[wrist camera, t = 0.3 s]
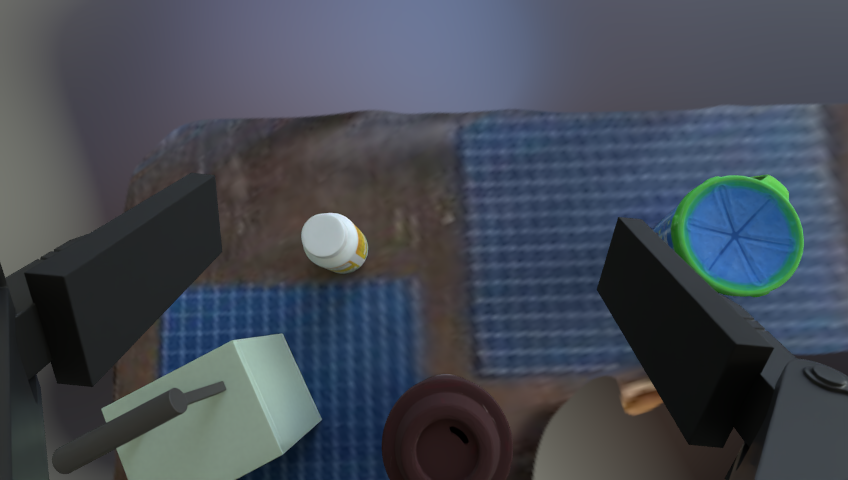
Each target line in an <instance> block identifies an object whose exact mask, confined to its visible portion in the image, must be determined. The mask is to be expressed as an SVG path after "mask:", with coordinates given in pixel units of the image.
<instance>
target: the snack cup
mask: <svg viewBox="0 0 848 480" xmlns="http://www.w3.org/2000/svg"><path fill="white" fill-rule="evenodd" d="M788 200H789V192H788V191H787V189H786V188H785V187H784V186H783V185H782V184H781V183H780V182H779V181H777V180H776V179H775V178H773V177H772V176H770V175H761V176H754V177H745V176H737V175H735V176H725V177H718V176H717V177H714V178H710V179H708V180H706V181H705V182H704V183H703V184H701V185H699V186H698V187H696V188H695V189H693V190H692V191H691V192H689V193H688V194H687V195H686V196H685V197H684V199H683V200H682V201H681V202H680V204H679V205H678V206H677V207H676V208H675V209H674V210H673V211H672V212H671V213H669V214H668V215H667V216H666V217H665V218H664V219H662V220H661V222H659V224H658V225H657V226H656V227H655V228H654V230H653V231H654V232H655V233H656V234H657V235H658V236H659V237H660V238H661V239H662V240H663V241H664V242H666V243H667V244H668V245H669V246H670V247H671V248H672V249H673V250H674V251H675V252H676V253H677V254H678V255H679V256H680V257H681V258H682V259H683V260H684V261H685V262H686V263H687V264H688V265H689V266H690V267H691V268H692V269H693V270H695V271H696V272H697V273H698V274H699V275H700V276H701V277H702V278H703V279H704V280H705V281H706V282H707V283H708V284H709V285H710V286H711V287H712V288H713V289H714V290H715V291H716V292H718V293H721V294H725V295H730V296H752V297H760V296H763V295H766V294H769V292H770V291H772V290H774V289H776V288H778V287H779V286H781V285H782V284H784V283H785V282H786V281H787V280H788V279H789V278H790V277H791V276H792V275H793V273H794V272H795V270H796V269H797V267H798V265H799V263H800V260H801V257H802V253H803V247H804V238H803V230H802V226H801V223H800V220H799V217H798V215H797V213H796V211H795V210H794V208H793V207H792V205H791V204H790V203H789V201H788Z"/></svg>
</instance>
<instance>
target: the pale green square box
mask: <svg viewBox="0 0 848 480" xmlns="http://www.w3.org/2000/svg"><path fill="white" fill-rule="evenodd" d="M101 410H102V413H103V415H104V418H105V420H106V423H105V424H103V425H102V426H100V427H98V428H96V429H94V430H92V431H90V432H88V433H86V434H84V435H82V436H80V437H79V438H77V439H75V440H73V441H71V442H69V443H67V444H65V445H63V446H61V447H59V448H58V449H57V450H56V451H55V452H54V454H53V457H52V463H53V466H54V468H55V469H56V470H57V471H58V472H59V473H62V474H68V473H71V472H72V471H74V470H76V469H78V468H80V467H82V466H84V465H86V464H88V463H90V462H92V461H93V460H95V459H97V458H99V457H101V456H103V455H105V454H107V453H109V452H111V451H112V450H114V449H117V452H118V455H119V457H120V460H121V462H122V465H123V468H124V470H125V473H126V475H127V478H128V480H236V479H238V478H240V477H242V476H244V475H246V474H247V473H249V472H251V471H253V470H255V469H257V468H259V467H261V466H262V465H264V464H266V463H268V462H270V461H272V460H274V459H276V458H277V457H279V456H281V455H283V454H284V453H285V452H286V451H287V450H288V449H290V448H291V447H292V446H293V445H294V444H295V443H296V442H298V441H299V440H300V439H301V438H302V437H303V436H304V435H305V434H307V433H308V432H309V431H310V430H311V429H312V428H313V427H314V426H316V425H317V424H318V423H319V422H320V421H321V420H322V418H321V416H320V414H319V412H318V410H317V407H316V405H315V403H314V401H313V399H312V397H311V394H310V392H309V390H308V388H307V386H306V384H305V381H304V379H303V377H302V375H301V373H300V370H299V368H298V366H297V364H296V362H295V360H294V357H293V355H292V353H291V351H290V349H289V347H288V344H287V342H286V340H285V338H284V336H283V334H275V335H268V336H261V337H253V338H246V339H239V340H232V341H230V342H228V343H226V344H224V345H222V346H221V347H219V348H217V349H215V350H213V351H211V352H209V353H207V354H205V355H203V356H201V357H200V358H198V359H196V360H194V361H192V362H190V363H188V364H186V365H184V366H182V367H180V368H179V369H177V370H175V371H173V372H171V373H169V374H167V375H165V376H163V377H161V378H159V379H157V380H156V381H154V382H152V383H150V384H148V385H146V386H144V387H142V388H140V389H138V390H136V391H135V392H133V393H131V394H129V395H127V396H125V397H123V398H121V399H119V400H117V401H115V402H114V403H112V404H110V405H108V406H106V407H104V408H102V409H101Z"/></svg>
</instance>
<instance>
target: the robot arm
mask: <svg viewBox="0 0 848 480" xmlns="http://www.w3.org/2000/svg"><path fill="white" fill-rule="evenodd" d="M221 252H222V245H221V234H220V224H219V213H218V203H217V192H216V182H215V175H207V174H197V173H190V174H188V175H187V176H185V177H183V178H182V179H180V180H178V181H177V182H175V183H173V184H172V185H170V186H168V187H167V188H165V189H163V190H162V191H160V192H158V193H157V194H155V195H153V196H151V197H150V198H148V199H146V200H145V201H143V202H141V203H140V204H138V205H136V206H135V207H133V208H131V209H130V210H128V211H126V212H125V213H123V214H121V215H120V216H118V217H116V218H115V219H113V220H111V221H110V222H108V223H106V224H105V225H103V226H101V227H100V228H98V229H97V230H95V231H93V232H91V233H90V234H87V235H84V236H81V237H78V238H75V239H72V240H69V241H68V242H66V243H64V244H63V245H61V246H59V247H57V248H56V249H54V252H49V253H47V254H46V255H44V256H42V257H41V259H40V260H39V259H37V260H35V261H34V262H32V263H30V264H28V265H27V266H25V267H23V268H21V269H20V270H18V271H16V272H15V273H13V274H11V275H10V276H8V277H6V278H5V276H4V273H3V270H2V267H1V264H0V480H49V472H48V462H47V451H46V440H45V430H44V420H43V409H42V398H41V387H40V384H39V381H38V378H37V375H36V374H37V373H38V372H39V371H40V370H41V369H43V368H44V367H45V366H46V365H47V364H48V363H50V362H51V364H52V367H53V371H54V374H55V377H56V380H57V383H59V384H69V385H79V386H90V387H93V386H94V385H95V384H96V383H97V382H98V381H99V380H100V379H101V378H102V377H103V376H104V375H105V373H106V372H107V371H108V370H109V369H110V368H111V367H112V366H113V365H114V364H115V363H116V362H117V361H118V360H119V359H120V358H121V357H122V356H123V355H124V354H125V353H126V352H127V351H128V350H129V348H130V347H131V346H132V345H133V344H134V343H135V342H136V341H137V340H138V339H139V338H140V337H141V336H142V335H143V334H144V333H145V332H146V331H147V330H148V329H149V328H150V327H151V325H152V324H153V323H154V322H155V321H156V320H157V319H158V318H159V317H160V316H161V315H162V314H163V313H164V312H165V311H166V310H167V309H168V308H169V307H170V306H171V305H172V304H173V303H174V301H175V300H176V299H177V298H178V297H179V296H180V295H181V294H182V293H183V292H184V291H185V290H186V289H187V288H188V287H189V286H190V285H191V284H192V283H193V282H194V281H195V280H196V279H197V277H198V276H199V275H200V274H201V273H202V272H203V271H204V270H205V269H206V268H207V267H208V266H209V265H210V264H211V263H212V262H213V261H214V260H215V259H216V258H217V257H218V256H219V254H220V253H221ZM597 291H598V292H599V294H600V296H601V297H602V299H603V301H604V302H605V304H606V306H607V308H608V309H609V311H610V313H611V314H612V316H613V318H614V319H615V321H616V323H617V324H618V326H619V328H620V330H621V331H622V333H623V335H624V336H625V338H626V340H627V341H628V343H629V345H630V346H631V348H632V350H633V351H634V353H635V355H636V357H637V358H638V360H639V362H640V363H641V365H642V367H643V368H644V370H645V372H646V373H647V375H648V377H649V378H650V380H651V382H652V384H653V385H654V387H655V389H656V390H657V392H658V394H659V395H660V397H661V399H662V400H663V402H664V404H665V405H666V407H667V409H668V411H669V412H670V414H671V416H672V417H673V419H674V420H675V422H676V424H677V426H678V427H679V429H680V431H681V432H682V434H683V436H684V438H685V439H686V441H687V442H688V444H689V445H698V446H708V447H720V448H723V447H724V445H725V443H726V441H727V439H728V437H729V434H730V433H731V431H732V429H733V427H734V428H735V429H736V430H737V432H738V433H739V435H740V436H741V437H742V439H743V440H744V441H745V442H744V444H743V446H742V447H741V449H740V451H739V453H738V455H737V457H736V459H735V460H734V462H733V464H732V466H731V468H730V470H729V471H728V473H727V475H726V477H725V479H726V480H848V376H846V375H845V374H843V373H841V372H839V371H837V370H835V369H833V368H831V367H829V366H826V365H823V364H820V363H817V362H814V361H810V360H803V359H797V358H796V357H795V356H794V355H793V354H791V353H790V352H789V351H788V350H787V349H786V348H785V347H784V346H783V345H782V344H781V343H780V342H779V341H778V340H776V339H775V338H774V337H773V336H772V335H771V334H770V333H769V332H768V331H765V328H764V327H763V326H762V325H760V324H759V323H758V322H757V321H754V318H753V317H752V316H751V315H750V314H749V313H748V312H747V311H745V310H744V309H743V308H742V307H741V306H740V305H738V304H736V303H735V302H733V301H731V300H730V299H728V298H726V297H725V296H723V295H719V294H718V293H717V292H716V291H715V290H714V289H713V288H712V287H711V286H710V285H709V284H708V283H707V282H706V281H705V280H704V279H703V278H702V277H701V276H700V275H699V274H698V273H697V272H696V271H695V270H693V269H692V268H691V267H690V266H689V265H688V264H687V263H686V262H685V261H684V260H683V259H682V258H681V257H680V256H679V255H678V254H677V253H676V252H675V251H674V250H673V249H672V248H671V247H670V246H669V245H668V244H667V243H666V242H664V241H663V240H662V239H661V238H660V237H659V236H658V235H657V234H656V233H655V232H654V231H653V230H652V229H651V228H650V227H649V226H648V225H647V224H646V223H645V222H644V221H643V220H642V219H633V218H623V217H618V220H617V223H616V227H615V230H614V233H613V237H612V240H611V244H610V247H609V250H608V254H607V257H606V260H605V264H604V267H603V271H602V274H601V277H600V281H599V284H598V287H597Z"/></svg>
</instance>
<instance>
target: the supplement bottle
mask: <svg viewBox="0 0 848 480" xmlns="http://www.w3.org/2000/svg"><path fill="white" fill-rule="evenodd" d="M301 239H302V243H303V247H304V251H305V253H306V255H307V256H308V258H309V259H310V260H311V261H312V262H313V263H315V264H316V265H318V266H320V267H323V268H325V269H328V270H330V271H333V272H336V273H341V274H346V273H350V272H353V271H355V270H357V269H358V268H359V267H361V266H362V264H363V263H364V262H365V260H366V257H367V254H368V245H367V241H366V238H365V236H364V235H363V233H362V232H361V231H360V230H359V229H358V228H357V227H356V226H355V225H354V224H353V223H352V222H351V221H350V220H349V219H348V218H346V217H345V216H343V215H340V214H337V213H326V214H318V215H315V216H313V217H311V218H310V219H309V220H308V221H307V222H306V223H305V225H304V226H303V229H302V233H301Z"/></svg>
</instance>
